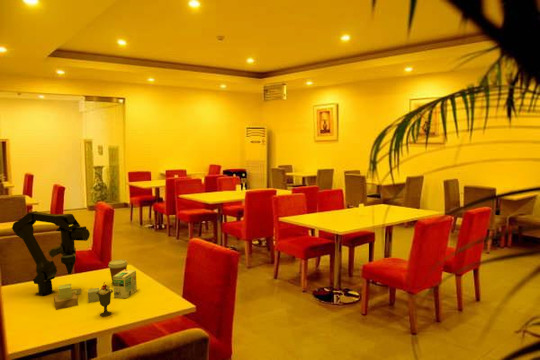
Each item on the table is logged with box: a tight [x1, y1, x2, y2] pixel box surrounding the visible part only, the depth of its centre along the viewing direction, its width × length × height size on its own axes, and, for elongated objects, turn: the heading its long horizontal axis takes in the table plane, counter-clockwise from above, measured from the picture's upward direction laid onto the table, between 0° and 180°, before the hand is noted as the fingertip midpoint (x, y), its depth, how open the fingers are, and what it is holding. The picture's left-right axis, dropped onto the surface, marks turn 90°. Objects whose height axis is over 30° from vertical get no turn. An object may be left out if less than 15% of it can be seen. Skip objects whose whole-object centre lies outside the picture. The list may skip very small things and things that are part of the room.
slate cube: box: [87, 287, 100, 304], centre depth 196 cm, size 5×5×5 cm
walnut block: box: [53, 292, 79, 311], centre depth 192 cm, size 9×9×4 cm
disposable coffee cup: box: [107, 259, 129, 284], centre depth 217 cm, size 10×10×12 cm
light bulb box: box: [112, 269, 138, 299], centre depth 203 cm, size 11×7×11 cm, turn 168°
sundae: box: [96, 282, 114, 318], centre depth 179 cm, size 7×7×15 cm
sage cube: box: [58, 283, 72, 299], centre depth 191 cm, size 5×5×5 cm
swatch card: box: [71, 288, 82, 296], centre depth 206 cm, size 8×8×1 cm
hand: (69, 271), depth 202 cm, fingers open, 9 cm apart
